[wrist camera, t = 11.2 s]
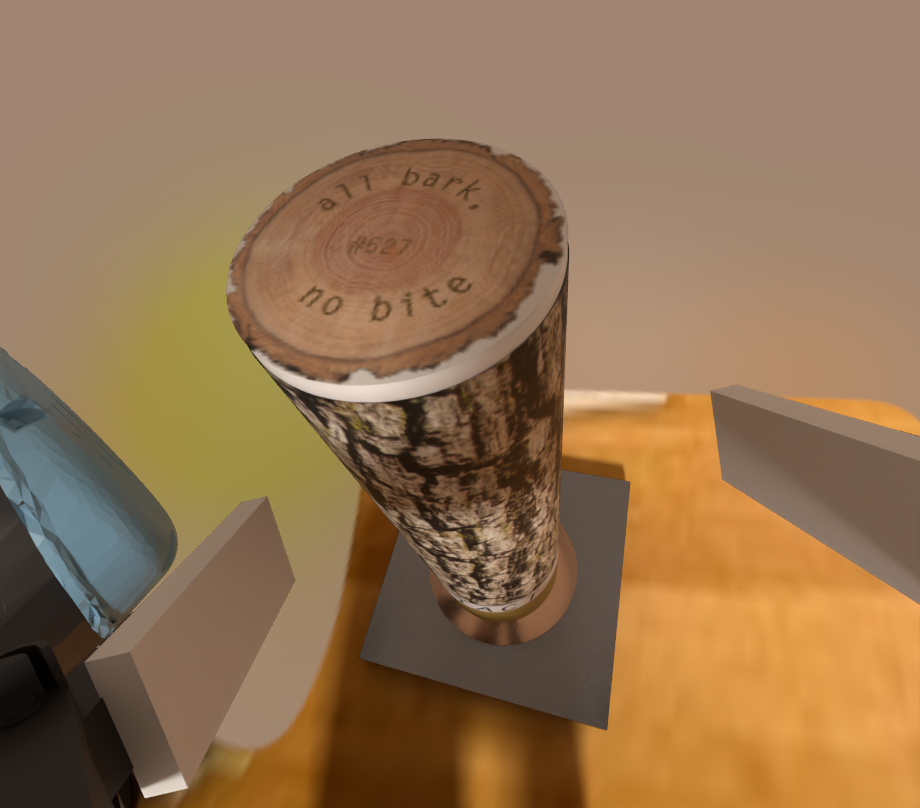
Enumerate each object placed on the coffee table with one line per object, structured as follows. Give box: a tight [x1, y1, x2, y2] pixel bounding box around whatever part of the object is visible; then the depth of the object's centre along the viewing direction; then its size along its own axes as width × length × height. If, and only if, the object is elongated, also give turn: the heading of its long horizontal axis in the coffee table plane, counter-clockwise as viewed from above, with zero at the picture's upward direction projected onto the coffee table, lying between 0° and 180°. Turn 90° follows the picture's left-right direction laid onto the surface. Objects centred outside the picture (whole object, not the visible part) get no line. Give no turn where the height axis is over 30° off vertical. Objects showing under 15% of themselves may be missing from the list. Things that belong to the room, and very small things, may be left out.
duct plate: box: [359, 470, 630, 730], centre depth 32 cm, size 14×14×2 cm
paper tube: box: [226, 139, 569, 622], centre depth 20 cm, size 7×7×25 cm
